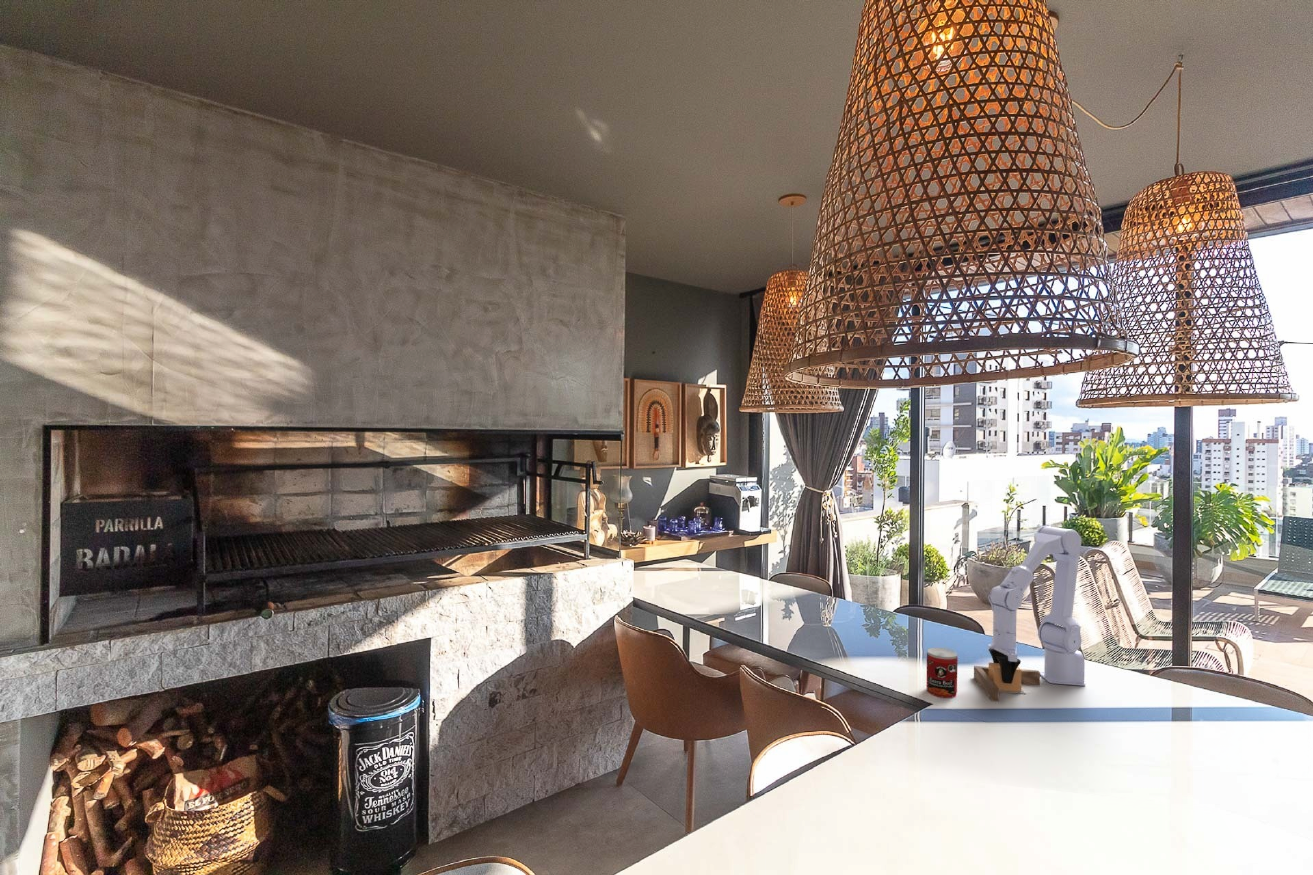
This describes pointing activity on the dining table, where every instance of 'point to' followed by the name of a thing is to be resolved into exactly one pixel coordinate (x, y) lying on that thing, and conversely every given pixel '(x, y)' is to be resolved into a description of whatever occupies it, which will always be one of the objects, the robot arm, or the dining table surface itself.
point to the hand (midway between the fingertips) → (1003, 679)
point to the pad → (1013, 691)
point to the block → (997, 678)
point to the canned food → (942, 672)
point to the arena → (992, 688)
